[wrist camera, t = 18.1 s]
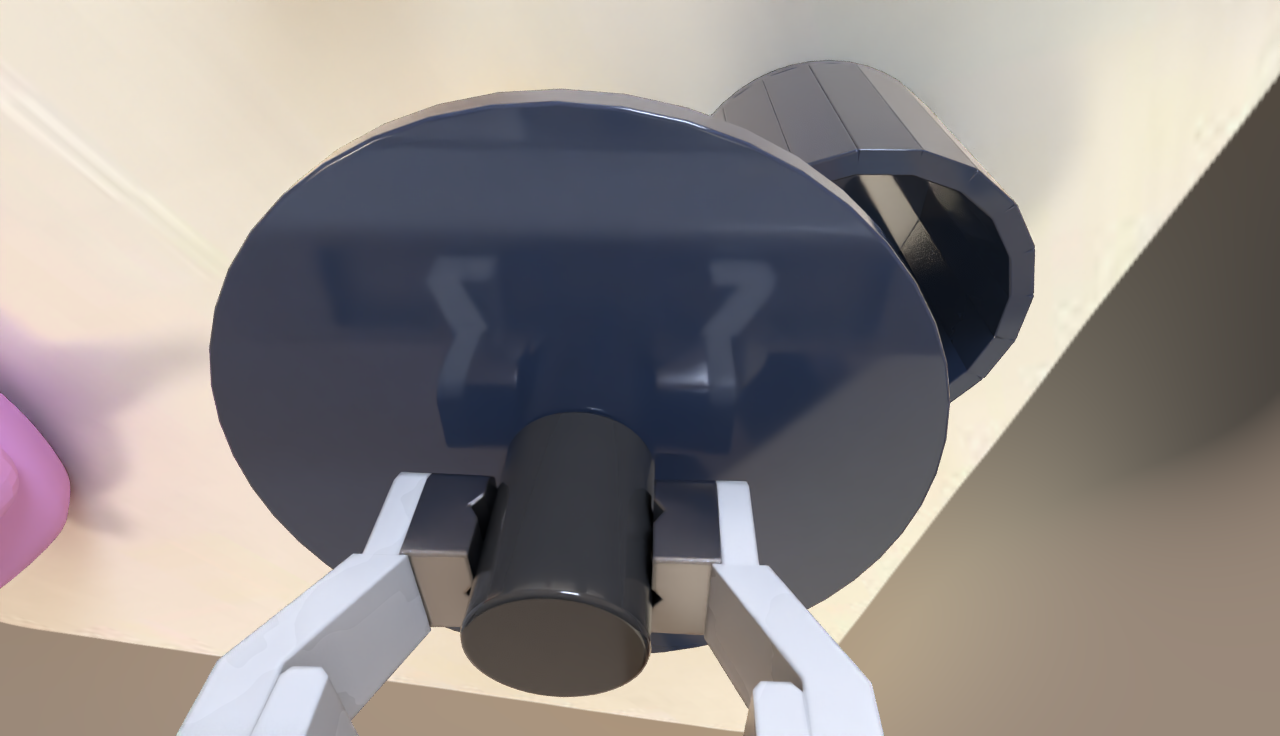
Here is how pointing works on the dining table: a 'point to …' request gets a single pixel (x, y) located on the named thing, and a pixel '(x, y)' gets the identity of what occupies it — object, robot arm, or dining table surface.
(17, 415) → the teapot
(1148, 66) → the dining table surface
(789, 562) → the lid
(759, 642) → the robot arm
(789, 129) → the pot
